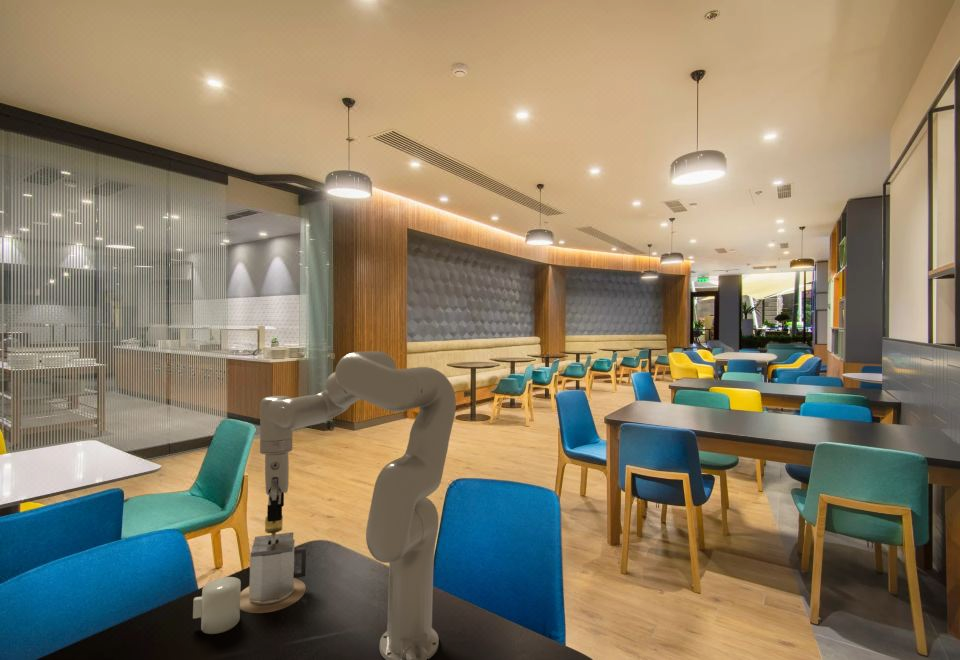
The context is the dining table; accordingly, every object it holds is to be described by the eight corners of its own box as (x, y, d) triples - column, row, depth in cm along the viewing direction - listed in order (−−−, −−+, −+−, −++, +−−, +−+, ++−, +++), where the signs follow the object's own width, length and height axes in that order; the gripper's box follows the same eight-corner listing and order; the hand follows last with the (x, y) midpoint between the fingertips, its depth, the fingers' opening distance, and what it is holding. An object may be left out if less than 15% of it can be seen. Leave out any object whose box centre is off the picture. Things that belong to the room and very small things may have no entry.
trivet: (305, 608, 111) (305, 605, 111) (231, 621, 106) (231, 618, 106) (305, 575, 126) (305, 572, 126) (240, 585, 121) (240, 582, 121)
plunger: (287, 592, 114) (289, 521, 114) (253, 597, 111) (255, 524, 111) (288, 576, 121) (290, 509, 121) (256, 581, 118) (258, 513, 118)
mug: (237, 632, 102) (238, 591, 102) (189, 641, 99) (190, 599, 99) (241, 612, 109) (242, 574, 109) (196, 620, 106) (198, 581, 106)
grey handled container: (304, 599, 114) (306, 546, 114) (246, 609, 109) (247, 554, 110) (304, 578, 124) (306, 529, 124) (251, 586, 119) (252, 536, 119)
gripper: (291, 451, 110) (290, 524, 109) (293, 437, 126) (292, 500, 125) (256, 454, 107) (255, 528, 107) (263, 439, 123) (262, 504, 123)
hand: (275, 513), depth 116 cm, fingers open, 9 cm apart
